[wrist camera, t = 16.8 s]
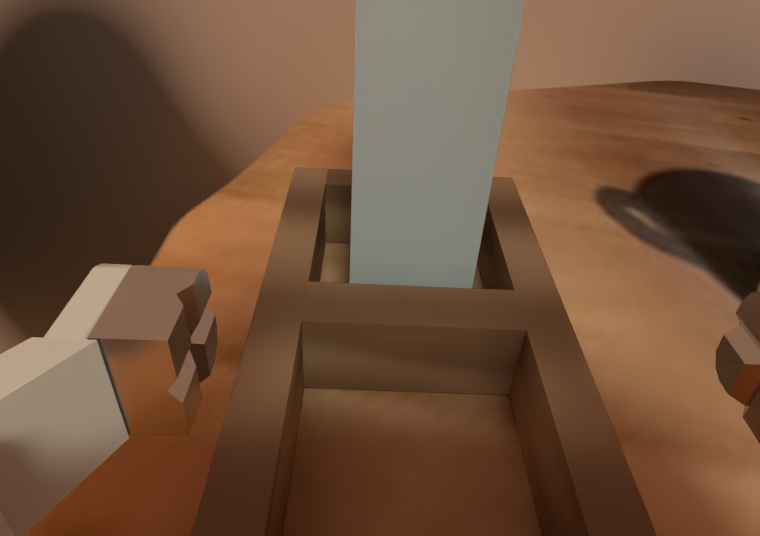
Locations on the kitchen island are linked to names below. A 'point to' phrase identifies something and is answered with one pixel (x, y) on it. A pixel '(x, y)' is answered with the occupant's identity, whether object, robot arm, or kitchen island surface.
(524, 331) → the rail
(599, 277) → the kitchen island surface
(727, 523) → the kitchen island surface
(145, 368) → the robot arm
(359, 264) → the peg
